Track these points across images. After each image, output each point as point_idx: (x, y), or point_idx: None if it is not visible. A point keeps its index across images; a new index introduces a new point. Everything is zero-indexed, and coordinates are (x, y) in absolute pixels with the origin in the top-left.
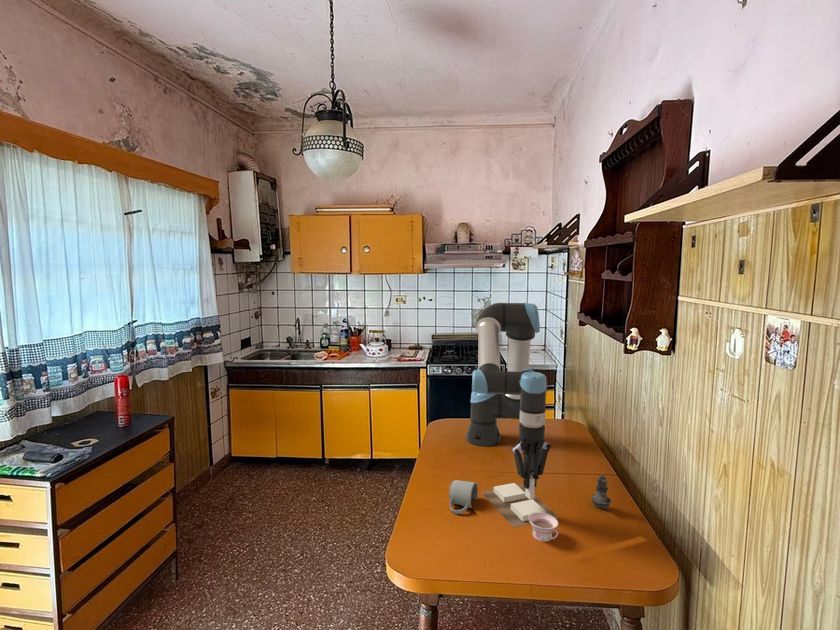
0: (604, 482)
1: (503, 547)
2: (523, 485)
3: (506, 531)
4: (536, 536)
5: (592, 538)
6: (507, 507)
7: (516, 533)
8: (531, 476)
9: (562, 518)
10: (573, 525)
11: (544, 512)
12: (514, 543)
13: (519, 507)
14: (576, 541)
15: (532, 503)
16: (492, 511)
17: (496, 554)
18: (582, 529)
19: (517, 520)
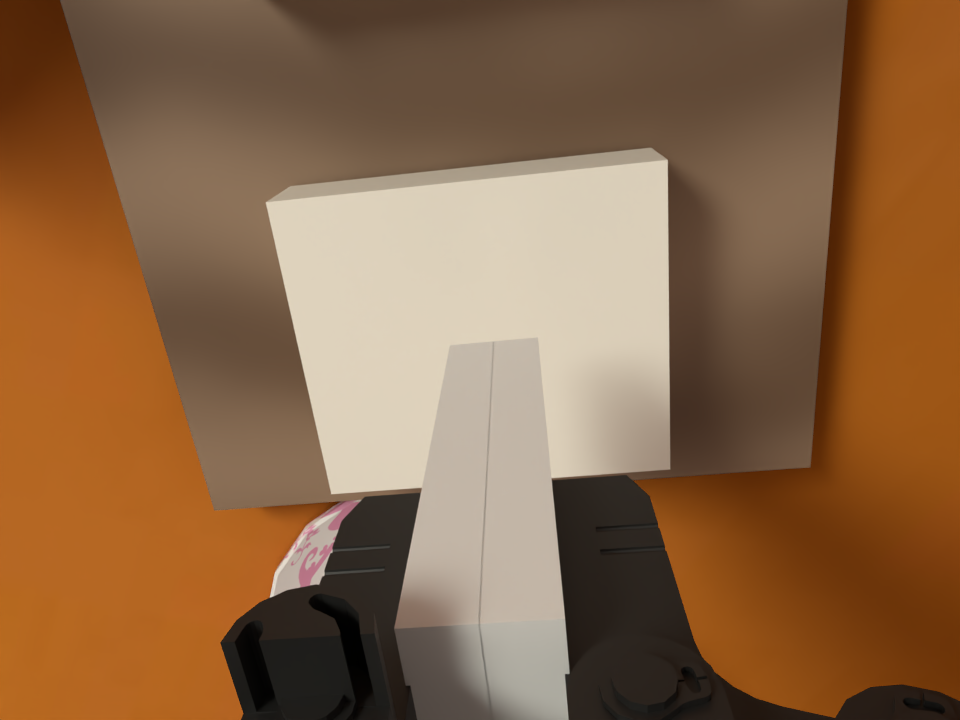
0: None
1: (81, 639)
2: (344, 519)
3: (160, 471)
4: None
5: None
6: (265, 127)
7: (250, 516)
8: (563, 705)
9: (865, 409)
10: (882, 532)
11: (650, 461)
12: (188, 620)
13: (362, 320)
14: None
15: (598, 271)
16: (77, 81)
17: (9, 688)
18: (916, 597)
19: (300, 415)
